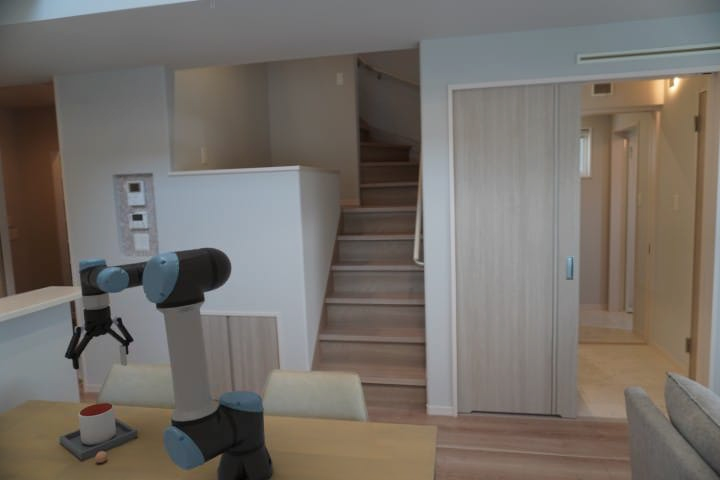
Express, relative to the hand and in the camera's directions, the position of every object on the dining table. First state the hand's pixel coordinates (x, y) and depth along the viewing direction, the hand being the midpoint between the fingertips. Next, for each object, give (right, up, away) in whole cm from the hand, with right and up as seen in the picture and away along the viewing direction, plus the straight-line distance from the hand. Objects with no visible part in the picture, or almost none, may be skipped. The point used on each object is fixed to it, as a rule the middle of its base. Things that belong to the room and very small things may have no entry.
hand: (103, 371), depth 155 cm
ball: (+6, -24, -11) cm, 27 cm away
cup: (-2, -22, +1) cm, 23 cm away
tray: (-2, -23, +1) cm, 23 cm away
